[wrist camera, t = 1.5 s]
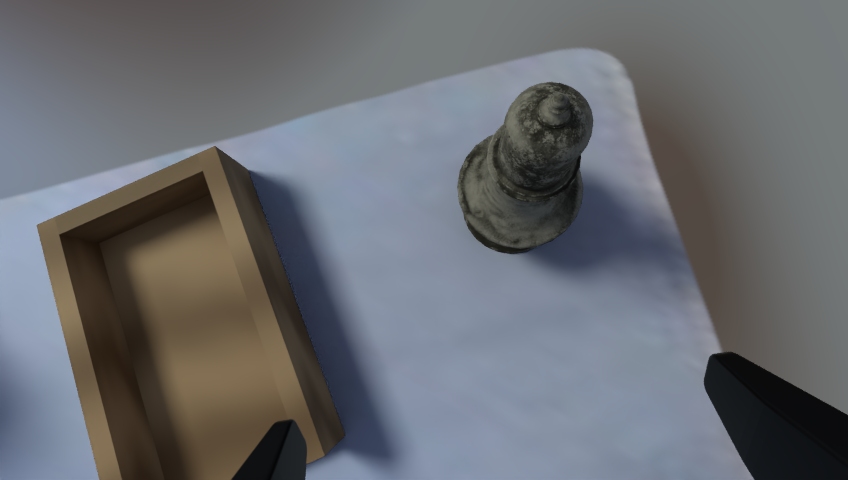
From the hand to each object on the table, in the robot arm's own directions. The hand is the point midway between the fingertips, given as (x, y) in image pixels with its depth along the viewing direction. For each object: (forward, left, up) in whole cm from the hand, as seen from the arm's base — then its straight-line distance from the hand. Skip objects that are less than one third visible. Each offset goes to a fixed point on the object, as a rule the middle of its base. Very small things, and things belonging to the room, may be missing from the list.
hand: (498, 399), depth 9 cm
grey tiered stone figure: (+6, -5, -14) cm, 16 cm away
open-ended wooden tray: (+7, +13, -14) cm, 20 cm away
